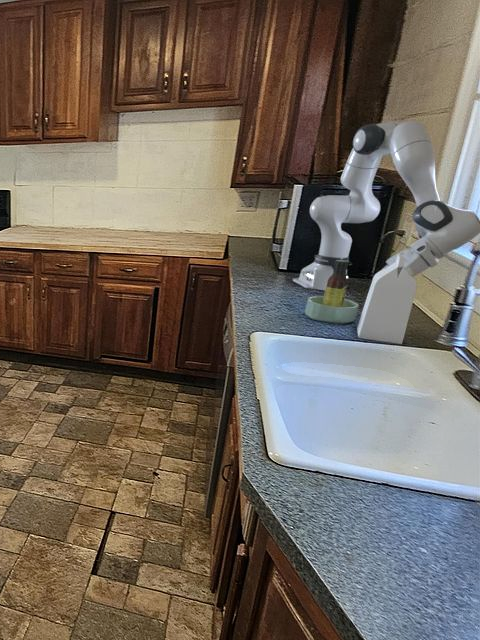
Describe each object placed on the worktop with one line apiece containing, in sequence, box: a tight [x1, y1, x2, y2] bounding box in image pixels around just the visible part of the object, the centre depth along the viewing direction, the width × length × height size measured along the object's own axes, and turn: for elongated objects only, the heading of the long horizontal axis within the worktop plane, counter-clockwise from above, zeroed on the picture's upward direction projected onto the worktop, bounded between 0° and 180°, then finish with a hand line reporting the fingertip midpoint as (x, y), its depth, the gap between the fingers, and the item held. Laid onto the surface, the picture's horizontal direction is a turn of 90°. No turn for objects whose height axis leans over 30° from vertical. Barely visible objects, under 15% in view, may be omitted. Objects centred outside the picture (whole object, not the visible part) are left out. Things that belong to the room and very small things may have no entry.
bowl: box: [304, 295, 360, 325], centre depth 189 cm, size 16×16×6 cm
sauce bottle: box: [322, 260, 350, 307], centre depth 186 cm, size 7×6×20 cm
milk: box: [356, 253, 418, 345], centre depth 167 cm, size 12×12×26 cm
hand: (380, 278), depth 181 cm, fingers open, 8 cm apart
